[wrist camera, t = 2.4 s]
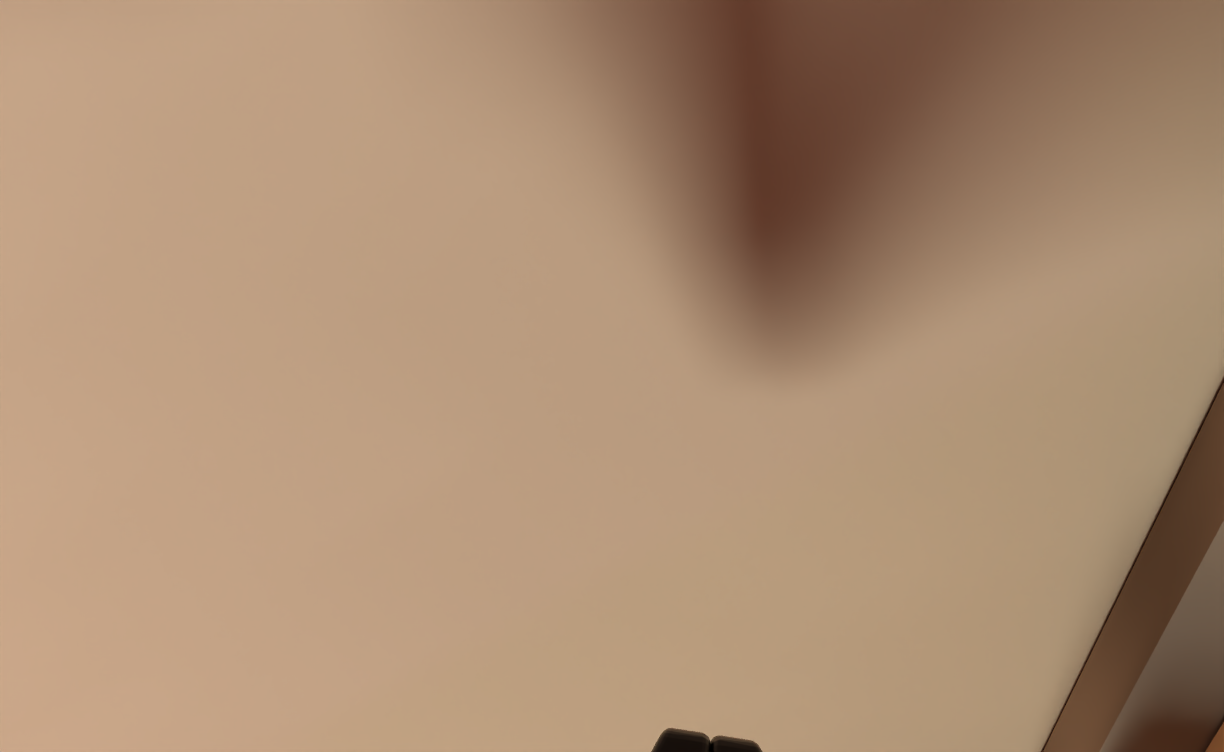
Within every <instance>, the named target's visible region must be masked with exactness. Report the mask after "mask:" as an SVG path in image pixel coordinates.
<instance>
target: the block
mask: <svg viewBox="0 0 1224 752" xmlns="http://www.w3.org/2000/svg"><path fill="white" fill-rule="evenodd" d="M1205 752H1224V722H1223V724H1222V726H1221V727H1220V729H1219V730H1218V732H1217V734H1216V735H1215V737H1214V738H1213V740H1212V742H1211V743H1210V745H1209V746H1208V748H1207V749H1206V751H1205Z"/></svg>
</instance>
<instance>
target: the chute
mask: <svg viewBox="0 0 1224 752" xmlns="http://www.w3.org/2000/svg"><path fill="white" fill-rule="evenodd" d="M1223 722H1224V383H1223V385H1222V387H1221V389H1220V391H1219V393H1218V395H1217V397H1216V399H1215V401H1214V403H1213V405H1212V407H1211V409H1210V411H1209V413H1208V415H1207V417H1206V419H1205V422H1204V424H1203V426H1202V428H1201V430H1200V432H1199V434H1198V436H1197V438H1196V440H1195V442H1194V444H1193V446H1192V448H1191V450H1190V452H1189V454H1188V456H1187V458H1186V460H1185V462H1184V464H1183V466H1182V469H1181V471H1180V473H1179V475H1178V477H1177V479H1176V481H1175V483H1174V485H1173V487H1172V489H1171V491H1170V493H1169V495H1168V497H1167V499H1166V501H1165V503H1164V505H1163V507H1162V509H1161V511H1160V513H1159V516H1158V518H1157V520H1156V522H1155V524H1154V526H1153V528H1152V530H1151V532H1150V534H1149V536H1148V538H1147V540H1146V542H1145V544H1144V546H1143V548H1142V550H1141V552H1140V554H1139V556H1138V558H1137V560H1136V563H1135V565H1134V567H1133V569H1132V571H1131V573H1130V575H1129V577H1128V579H1127V581H1126V583H1125V585H1124V587H1123V589H1122V591H1121V593H1120V595H1119V597H1118V599H1117V601H1116V603H1115V605H1114V607H1113V610H1112V612H1111V614H1110V616H1109V618H1108V620H1107V622H1106V624H1105V626H1104V628H1103V630H1102V632H1101V634H1100V636H1099V638H1098V640H1097V642H1096V644H1095V646H1094V648H1093V650H1092V652H1091V655H1090V657H1089V659H1088V661H1087V663H1086V665H1085V667H1084V669H1083V671H1082V673H1081V675H1080V677H1079V679H1078V681H1077V683H1076V685H1075V687H1074V689H1073V691H1072V693H1071V695H1070V697H1069V699H1068V702H1067V704H1066V706H1065V708H1064V710H1063V712H1062V714H1061V716H1060V718H1059V720H1058V722H1057V724H1056V726H1055V728H1054V730H1053V732H1052V734H1051V736H1050V738H1049V740H1048V742H1047V744H1046V746H1045V749H1044V751H1043V752H1205V751H1206V749H1207V748H1208V746H1209V745H1210V743H1211V742H1212V740H1213V738H1214V737H1215V735H1216V734H1217V732H1218V730H1219V729H1220V727H1221V726H1222V724H1223Z"/></svg>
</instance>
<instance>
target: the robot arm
mask: <svg viewBox="0 0 1224 752" xmlns="http://www.w3.org/2000/svg"><path fill="white" fill-rule="evenodd" d="M652 752H762V750H761V748H760V747H759V745H758V744H757V743H755V742H754V741H751V740H745V739H739V738H732V737H726V736H716V737H713V739H712V740H711V742H710V740H709V737H708V736H707V735H705V734H704V733H700V732H694V731H687V730H681V729H674V728H668V729H666V730H665V731H664V732H663V733H662V734H661V735H660V737H659V739H658V741H657V742H656V744H655V746H654V748H653V750H652Z"/></svg>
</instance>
